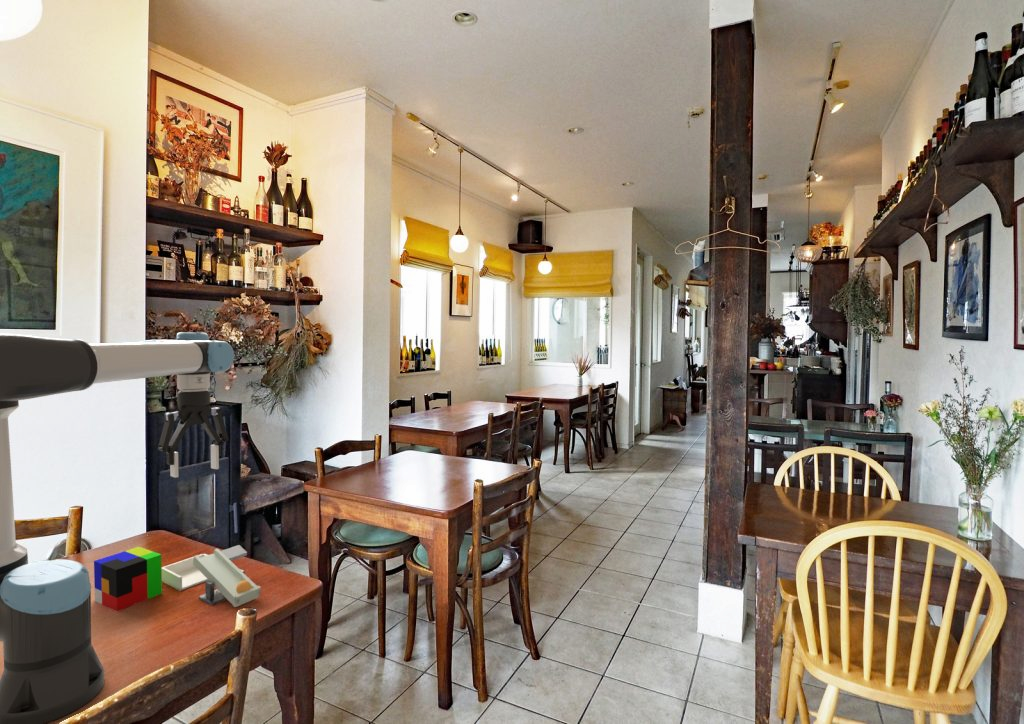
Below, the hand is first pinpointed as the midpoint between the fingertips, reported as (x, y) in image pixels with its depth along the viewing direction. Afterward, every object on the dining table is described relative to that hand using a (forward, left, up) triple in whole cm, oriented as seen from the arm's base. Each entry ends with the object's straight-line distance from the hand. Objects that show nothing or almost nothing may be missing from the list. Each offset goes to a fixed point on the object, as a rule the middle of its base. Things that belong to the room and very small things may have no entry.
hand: (195, 472), depth 142 cm
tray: (-2, -2, -28) cm, 28 cm away
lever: (+1, -18, -24) cm, 30 cm away
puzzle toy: (-16, 0, -28) cm, 32 cm away
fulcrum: (-2, -18, -28) cm, 33 cm away
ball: (-2, -26, -24) cm, 35 cm away
